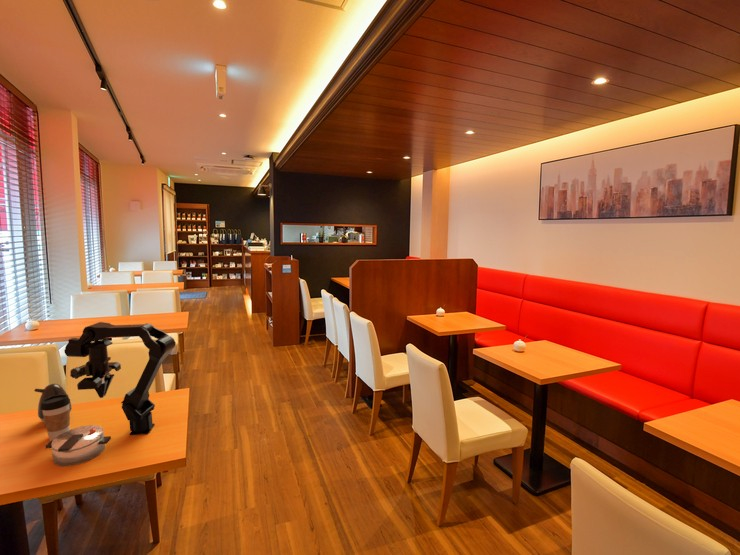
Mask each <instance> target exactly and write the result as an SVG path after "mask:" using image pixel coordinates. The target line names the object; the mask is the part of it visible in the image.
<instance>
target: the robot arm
mask: <svg viewBox="0 0 740 555" xmlns="http://www.w3.org/2000/svg"><path fill="white" fill-rule="evenodd" d="M128 337H129V338H131V337H133V338H134V337H135V338H136V337H139V338H140V339H141V340H142V343H143V345H144V346H145V347H146V348H147V350H148V352H147V353H148V358H149V359H148V360H147V363H146V364H145V367H144V369H143V371H142V372H141V375H140V377H139V380H138V382H137V384H136V385H135V387H134V388H132V389H130V390H129V391H128V392H127V393H125V395H124V397H123V400H122V401H121V402H120V403H121V409H122V411H123V413H124V415H125V417H126V419H127V421H128V422H129V431H130V432H129V436H135V435H147V434H150V432H151V431H152V429H153V428H154V427H155V423H153V412H152V411H153V410H154V409H155V406H156V404H155V403H154V402H152V401H151V400H150V392H149V390H150V388H151V386H152V384H153V382H154V381H155V379H156V376H157V374H158V372H159V370H160V369H161V366H162V364H163V362H164V360H166V358H167V357H168V356H169V355H170V353H172V351H173V350H174V348H176V341H175V339H174V337H172V335H169V334H168V333H166V332H165V331H163V330H161V329H160V328H156V327H155V326H154V325H152V324H151V323H143V324H142V323H141V324H140V323H139V324H137V323H136V324H117V325H116V324H112V323H110V322H103V321H99V322H96V323H92V324H89V326H85V327H84V328H83V330H82V334H81V335H80V337H79V338H77V337H72V338H69V339H68V343H67V344H66V345H65V349H64V350H63V351H64V354H65V356H66V357H70V358H87V357H88V361H87V362H86V363H85V364H82V365H80V366H77V367H73V368H72V369H70V375H69V376H70V377H71V378H73V379H75V380H77V379H79V378H81V377H83V376H86V377H84V378H83V379H81V380H80V381H78V383H77V385H76V386H77V390H79V391H80V390H81V391H82V390H95V392H96V393H97V396H98V397H99V398H100V399H103V398H104V397H105V396H106V395H107V392H108V390H109V388H110V385H111V383H112V381H113V379H114V377H115V374H114V373H113V374H111V372H112V370H114V371H116V372H119V371H120V370H121V369H122V368H121V367H122V366H121V365H122V364H121V363H120V362H118V361H111V358H112V357H111V356H109V354H108V346H110V345H113V342H112V341H111V340H109V339H110V338H128ZM152 337H153V338H155V339H156V340H154V339H153V338H152ZM108 338H109V339H108ZM109 361H111V362H109Z"/></svg>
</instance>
